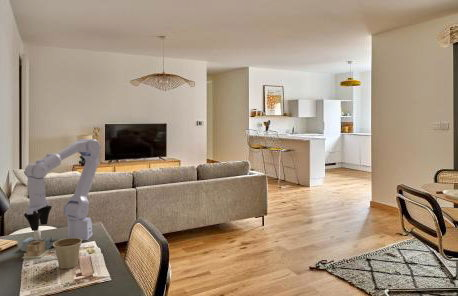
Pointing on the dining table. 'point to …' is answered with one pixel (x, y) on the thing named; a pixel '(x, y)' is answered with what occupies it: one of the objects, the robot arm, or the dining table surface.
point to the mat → (36, 256)
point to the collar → (35, 248)
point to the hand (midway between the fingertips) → (39, 227)
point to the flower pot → (67, 252)
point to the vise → (37, 237)
